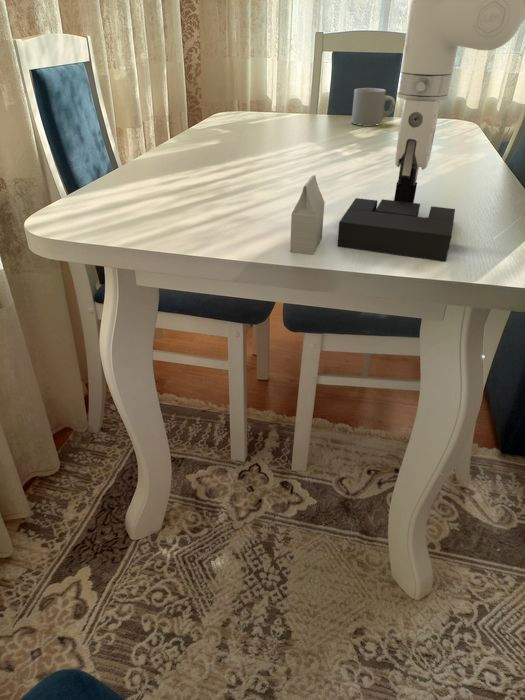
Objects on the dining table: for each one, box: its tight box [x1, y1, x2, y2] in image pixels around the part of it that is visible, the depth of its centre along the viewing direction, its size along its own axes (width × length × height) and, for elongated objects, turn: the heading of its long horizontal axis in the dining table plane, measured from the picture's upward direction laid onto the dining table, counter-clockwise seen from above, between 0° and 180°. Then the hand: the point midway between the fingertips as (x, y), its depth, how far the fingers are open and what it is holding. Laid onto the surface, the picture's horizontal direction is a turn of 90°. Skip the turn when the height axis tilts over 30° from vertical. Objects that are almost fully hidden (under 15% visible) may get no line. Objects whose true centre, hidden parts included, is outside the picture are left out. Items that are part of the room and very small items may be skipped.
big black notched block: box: [336, 197, 456, 262], centre depth 79 cm, size 16×13×4 cm
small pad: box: [375, 198, 421, 217], centre depth 82 cm, size 6×6×4 cm
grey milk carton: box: [289, 174, 326, 255], centre depth 75 cm, size 4×7×10 cm, turn 164°
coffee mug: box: [350, 87, 396, 125], centre depth 160 cm, size 13×10×10 cm
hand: (403, 205), depth 85 cm, fingers closed
